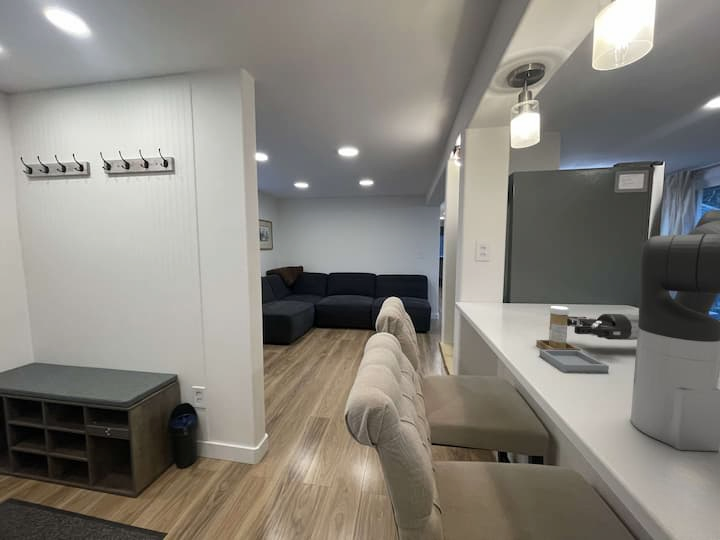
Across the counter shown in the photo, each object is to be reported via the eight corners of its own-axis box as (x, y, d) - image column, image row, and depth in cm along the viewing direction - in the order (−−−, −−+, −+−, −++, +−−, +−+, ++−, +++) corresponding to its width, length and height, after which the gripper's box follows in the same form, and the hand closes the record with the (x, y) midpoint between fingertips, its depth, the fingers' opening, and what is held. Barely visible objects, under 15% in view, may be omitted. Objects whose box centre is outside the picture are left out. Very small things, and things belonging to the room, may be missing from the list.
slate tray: (608, 373, 70) (608, 365, 70) (564, 372, 71) (564, 364, 70) (577, 356, 81) (578, 350, 80) (539, 356, 81) (539, 349, 81)
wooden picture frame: (579, 355, 81) (579, 349, 81) (551, 355, 82) (552, 348, 82) (561, 346, 89) (561, 340, 89) (536, 346, 90) (536, 339, 89)
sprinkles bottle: (550, 347, 89) (553, 304, 88) (568, 351, 85) (570, 307, 84) (545, 350, 86) (547, 306, 85) (563, 354, 82) (566, 309, 81)
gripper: (603, 309, 91) (551, 308, 91) (645, 320, 76) (583, 319, 77) (601, 331, 91) (549, 331, 92) (643, 347, 77) (581, 346, 78)
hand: (565, 325), depth 85 cm, fingers open, 8 cm apart
